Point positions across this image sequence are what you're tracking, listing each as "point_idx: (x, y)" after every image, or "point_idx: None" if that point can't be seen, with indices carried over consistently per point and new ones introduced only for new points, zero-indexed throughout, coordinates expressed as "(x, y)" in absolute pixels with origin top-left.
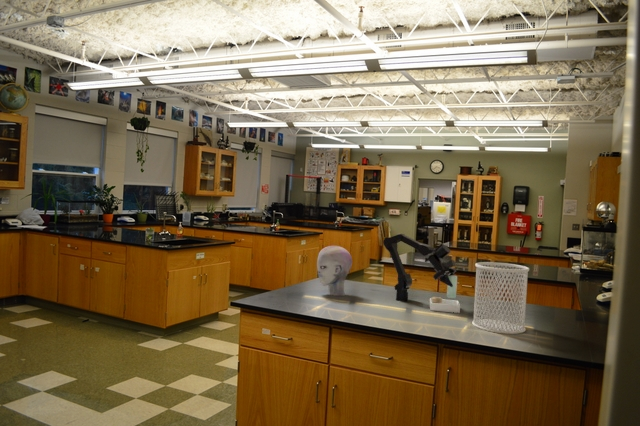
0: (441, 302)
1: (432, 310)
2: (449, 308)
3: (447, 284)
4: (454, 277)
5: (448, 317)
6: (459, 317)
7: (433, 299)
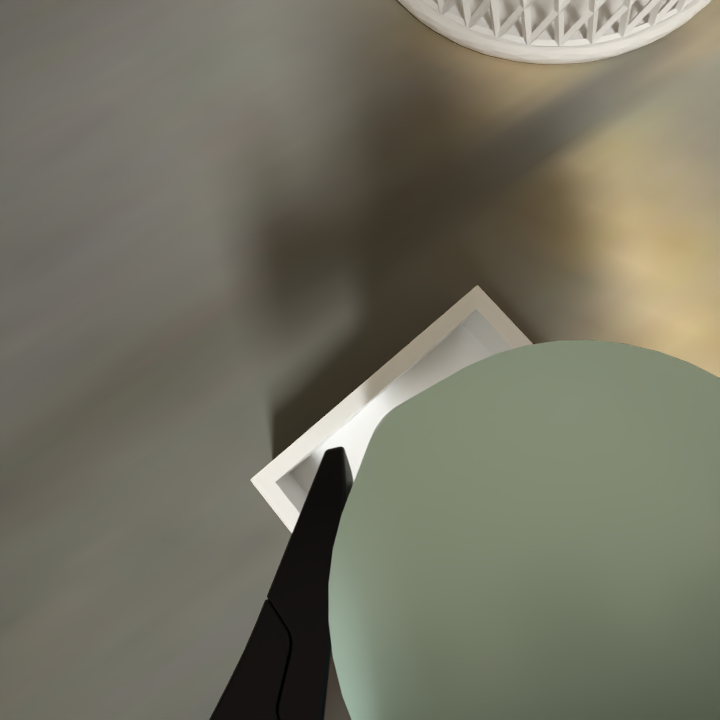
0: None
1: None
2: None
3: None
4: (681, 374)
5: (712, 251)
6: (607, 205)
7: None
